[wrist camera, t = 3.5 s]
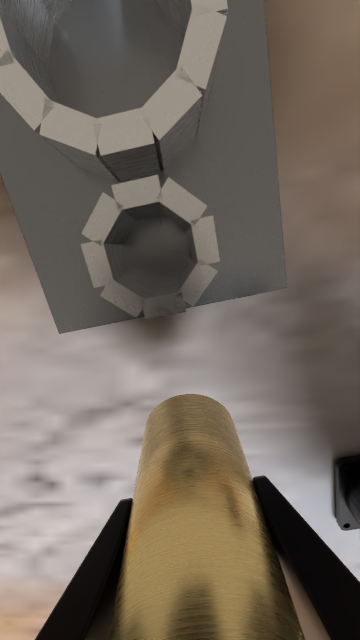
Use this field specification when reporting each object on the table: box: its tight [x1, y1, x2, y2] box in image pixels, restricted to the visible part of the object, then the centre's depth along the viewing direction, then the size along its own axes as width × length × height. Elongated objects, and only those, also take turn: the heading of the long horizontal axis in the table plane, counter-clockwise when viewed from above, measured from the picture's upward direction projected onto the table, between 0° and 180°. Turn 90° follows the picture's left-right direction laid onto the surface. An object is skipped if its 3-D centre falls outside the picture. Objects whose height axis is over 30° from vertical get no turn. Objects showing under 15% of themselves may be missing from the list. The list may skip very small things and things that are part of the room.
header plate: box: [0, 0, 287, 334], centre depth 10 cm, size 14×12×4 cm
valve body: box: [108, 394, 305, 640], centre depth 7 cm, size 4×4×8 cm
